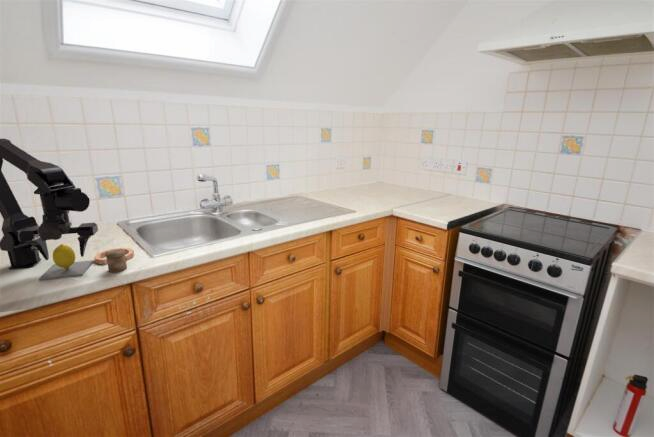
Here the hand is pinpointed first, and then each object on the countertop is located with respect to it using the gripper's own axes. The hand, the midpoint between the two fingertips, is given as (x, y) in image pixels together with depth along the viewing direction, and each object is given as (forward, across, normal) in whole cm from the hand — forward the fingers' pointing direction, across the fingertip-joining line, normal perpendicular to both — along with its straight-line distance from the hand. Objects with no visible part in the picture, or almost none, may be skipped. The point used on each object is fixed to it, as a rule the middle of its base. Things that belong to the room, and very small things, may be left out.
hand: (65, 258), depth 109 cm
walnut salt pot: (+4, +14, -4) cm, 15 cm away
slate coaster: (+4, 0, 0) cm, 4 cm away
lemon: (+4, 0, 0) cm, 4 cm away
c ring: (+4, +12, +8) cm, 14 cm away
